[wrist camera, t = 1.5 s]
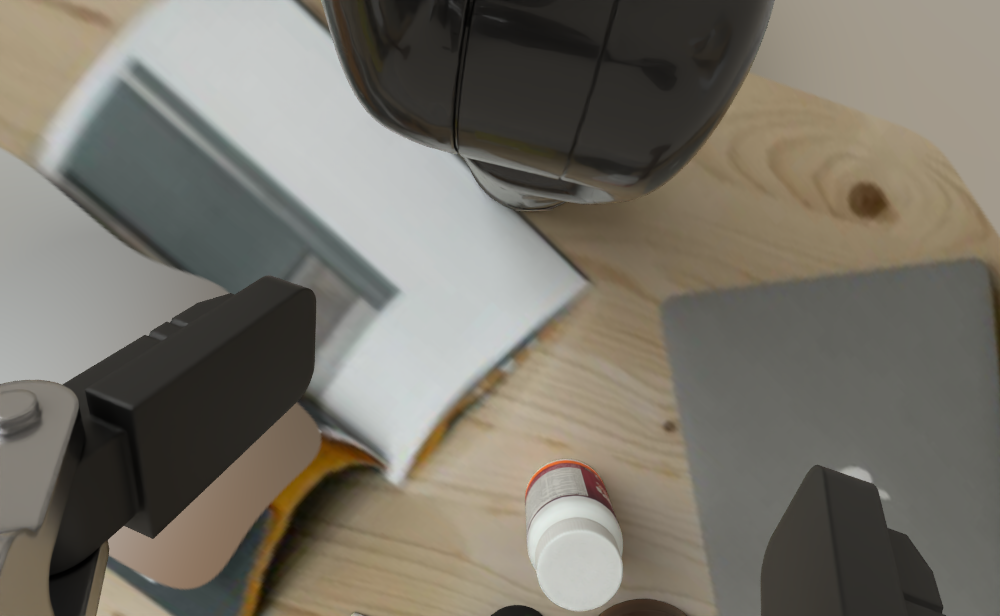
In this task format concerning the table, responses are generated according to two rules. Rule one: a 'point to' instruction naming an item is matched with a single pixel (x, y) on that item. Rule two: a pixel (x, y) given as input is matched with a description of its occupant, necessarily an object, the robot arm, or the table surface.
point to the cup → (517, 611)
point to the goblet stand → (643, 609)
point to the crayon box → (356, 614)
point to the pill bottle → (573, 535)
